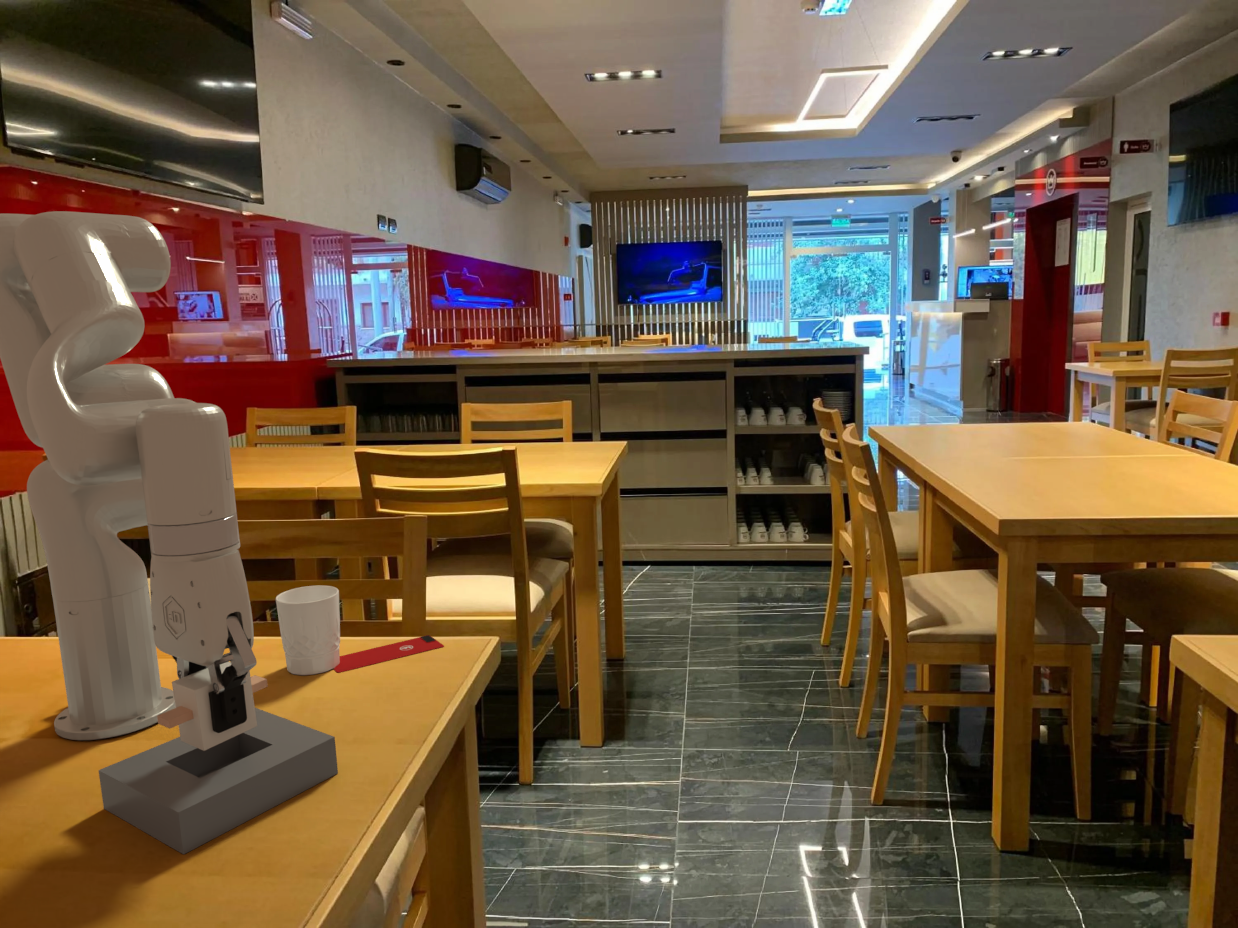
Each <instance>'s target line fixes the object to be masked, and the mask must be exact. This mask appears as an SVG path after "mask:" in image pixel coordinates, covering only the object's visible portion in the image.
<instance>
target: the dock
mask: <svg viewBox="0 0 1238 928" xmlns="http://www.w3.org/2000/svg"><path fill="white" fill-rule="evenodd" d="M255 713H256V720H257V726H256V727H254V728H252V729H250V730H248V731H245V732H243V733H241V734H239V735H237V736H235V737H233V738H230V739H228V740H226V741H224V742H222V743H220V744H218V745H215V746H213V747H211V748H209V749H207V750H205V751H203V750H201V749H199V748H196V747H194V746H192V745H190V744H187V743H185V742H183V741H181V738H180V736H178V737H175V738H173V739H171V740H169V741H166V742H163V743H161V744H160V745H159V744H158V745H156V746H154V747H152V748H149V749H147V750H144V751H142V752H140V753H137V754H135V755H132V756H130V757H127V758H124V759H123V760H119V761H118V762H115V763H112V764H110V765H108V766H105V767H103V768H100V769H98V776H99V784H100V791H101V798H102V807H103V809H104V810H106V812H107V811H108V812H109V813H111V814H113V815H114V816H116V817H117V818H120V819H121V820H123V821H125V822H126V823H128V824H130V825H132V826H133V827H135V828H137V829H138V830H140V831H142V832H143V833H146V834H147V835H149V836H150V837H152V838H154V839H156V840H158V841H159V842H161V843H163V844H164V845H165V846H168V847H170V848H172V849H173V850H175V851H177V852H178V853H180V854H182V855H186V854H187V853H189V852H191V851H193V850H195V849H197V848H200V846H202V845H205V844H207V843H208V842H210V841H212V840H214V839H216V838H218V837H220V836H222V835H223V834H226V833H227V832H229V831H231V830H233V829H235V828H237V827H239V826H240V825H242V824H245V823H246V822H248V821H250V820H252V819H254V818H256V817H258V816H260V815H261V814H264V813H265V812H267V811H270V810H271V809H273V808H275V807H277V806H278V805H281V804H282V803H284V802H286V801H288V800H290V799H292V798H294V797H297V796H298V795H300V794H301V793H304V792H305V791H307V790H309V789H312V787H315V786H316V785H318V784H320V783H322V782H324V781H326V780H328V779H329V778H331V777H333V776H335V775H337V774H339V769H338V760H337V757H338V756H337V748H336V739H335V738H336V737H335V736H333V735H332V734H331V735H330V734H328V733H325V732H322V731H319V730H317V729H314V728H312V727H309V726H306V725H303V724H301V723H298V722H296V721H292V720H290V719H287V718H285V717H282V716H280V715H276V714H274V713H271V712H268V711H265V710H263V709H260V708H257V707H255Z"/></svg>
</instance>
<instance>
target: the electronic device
mask: <svg viewBox="0 0 1238 928" xmlns="http://www.w3.org/2000/svg"><path fill="white" fill-rule="evenodd" d="M443 648H445V645H444V644H442V643H441V642H440V641H438V640H437V639H436V638H435V637H433V636H431V635H430V634H427V635H421V636H418V637H415V638H411V639H407V640H404V641H403V640H402V641H398V642H394V643H390V644H386V645H381V646H378V647H377V646H376V647H374V648H369V649H365V650H360V651H356V652H352V653H348V654H344V655H340V663H339V664H338V665H337V666H336V667H335V668H333V669H332V670H334V671H335V673H337V674H341V673H344V672H348V671H353V670H358V669H361V668H366V667H369V666H373V665H377V664H381V663H382V664H383V663H385V662H388V661H393V660H397V659H401V658H404V657H405V658H406V657H409V656H414V655H417V654H421V653H426V652H429V651H434V650H437V649H438V650H439V649H443Z"/></svg>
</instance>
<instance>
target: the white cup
mask: <svg viewBox="0 0 1238 928" xmlns="http://www.w3.org/2000/svg"><path fill="white" fill-rule="evenodd" d="M275 604H276V611H277V615H278V616H277V617H278V625H279V631H280V638H281V643H282V649H283V651H284V656H285V663H286V669H287V672H289V673H291V674H292V675H296V676H309V675H310V676H311V675H317V674H322V673H325V672H328V671H330V670H334V669H333V668H335V667H336V666H337V665H338V664H339V663H340V656H341V654H340V644H341V625H340V624H341V616H340V614H341V613H340V590H339V589H338V588H337V587H335V586H332V585H323V584H322V585H321V584H320V585H309V586H308V585H307V586H301V587H295V588H291V589H289V590H286V591H283V592H281V593H279V594H277V595H276V597H275Z"/></svg>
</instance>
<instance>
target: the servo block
mask: <svg viewBox="0 0 1238 928" xmlns="http://www.w3.org/2000/svg"><path fill="white" fill-rule="evenodd" d="M230 665H231V662H230V661H229V662H226V663H223V664H220V669H221V673H223V672H224V670H225V668H226V667H228V666H230ZM250 671H251V670H249V671H248V673H247V675H246V683H245V684H243V685H244V694H245V703H246V712H247V720H246V721H245V722H244V723H242V724H240V725H237V726H235V727H233V728H230V729H228V730H226V731H223V732H221V733H217V732H214V731H213V727H212V719H211V710H210V702H209V692H212V691H213V688H212V684H211V679H210V675H209V670H208V668H206V669H204V670H201V671H198V672H196V673H193V674H191V675H188V676H186V677H183V678H180V679H179V678H178V679H176V680H173V681H172V682H171V684H172V685H171V686H172V691H173V693H174V700H175V706H176V708H174V709H172V710H170V711H167V712H165V713H162V714H160V715H158V716H157V718H158V722H157V723H158V725H161V726H163V727H165V728H167V729H172V728H174V727H176V726H178V731H179V737H180V738H181V741H183V742H185V743H187V744H190V745H192V746H194V747H196V748H199V749H201V750H203V751H205V750H207V749H209V748H211V747H213V746H215V745H218V744H220V743H222V742H224V741H226V740H228V739H230V738H233V737H235V736H237V735H239V734H241V733H243V732H245V731H248V730H250V729H252V728H254V727H256V726H257V720H256V713H255V708H256V707H255V701H254V693H256V692H258V691H260V690H263V689H265V688H267V687H269V685H268V679H267V678H264V677H261V676H258V675H252V676H251V672H250Z"/></svg>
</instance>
